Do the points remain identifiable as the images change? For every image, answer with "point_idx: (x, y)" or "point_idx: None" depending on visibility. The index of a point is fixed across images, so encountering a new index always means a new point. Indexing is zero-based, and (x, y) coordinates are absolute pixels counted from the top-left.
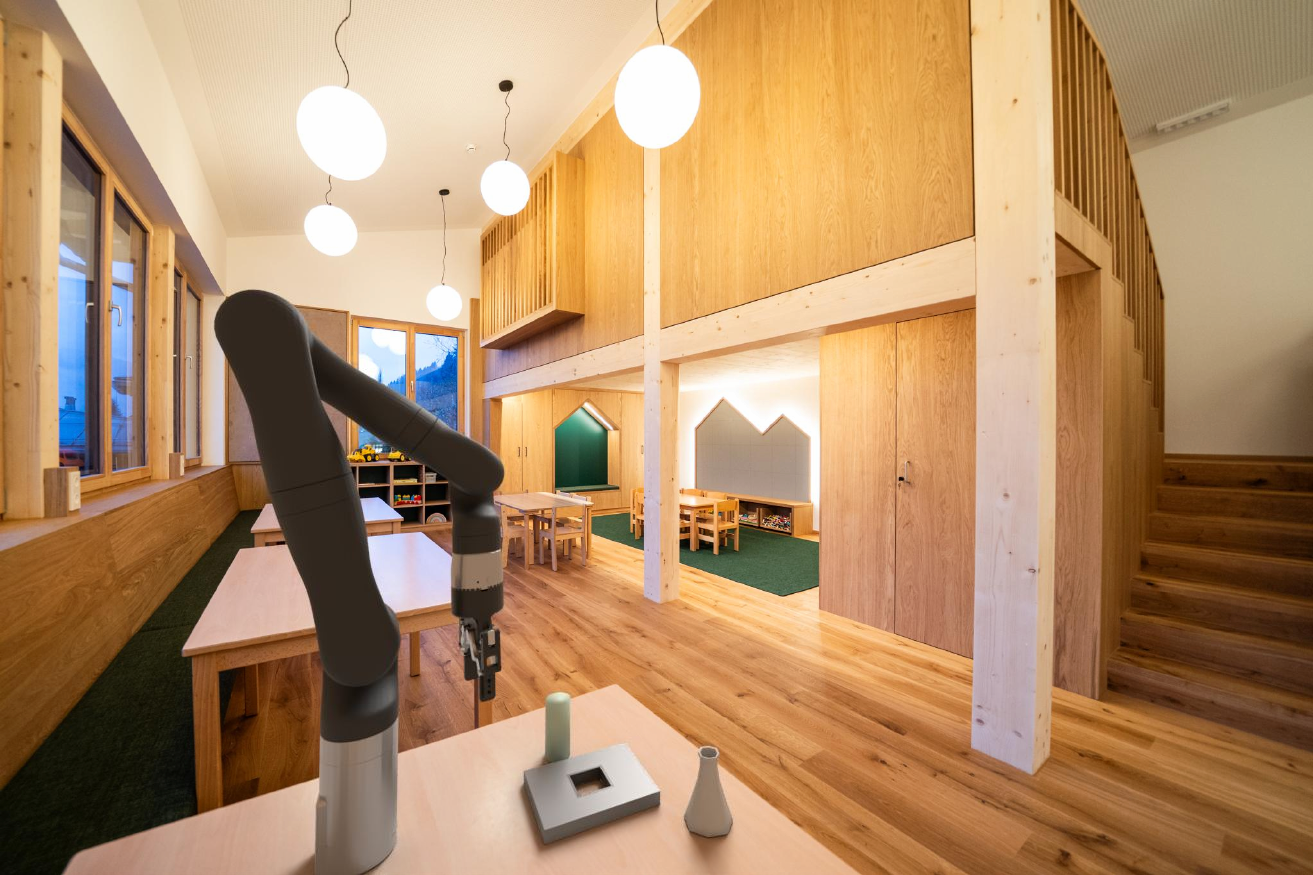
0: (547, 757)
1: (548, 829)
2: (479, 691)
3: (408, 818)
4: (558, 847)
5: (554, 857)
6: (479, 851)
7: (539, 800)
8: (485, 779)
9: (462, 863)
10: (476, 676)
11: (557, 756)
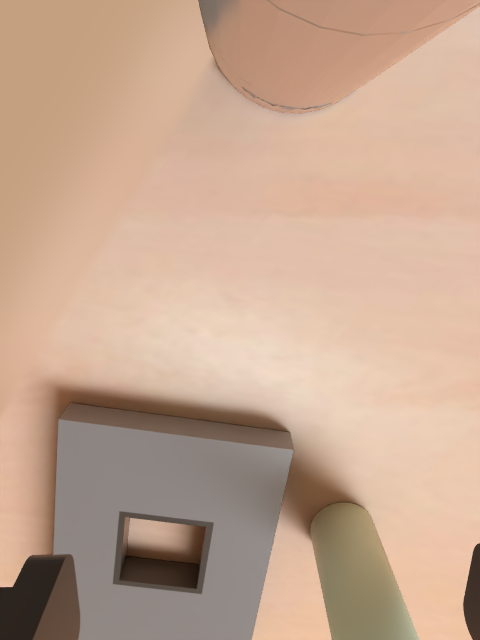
0: (337, 508)
1: (58, 426)
2: (10, 616)
3: (343, 154)
4: (49, 422)
5: (27, 406)
6: (125, 282)
7: (161, 443)
8: (366, 361)
9: (109, 240)
10: (471, 614)
11: (315, 528)
